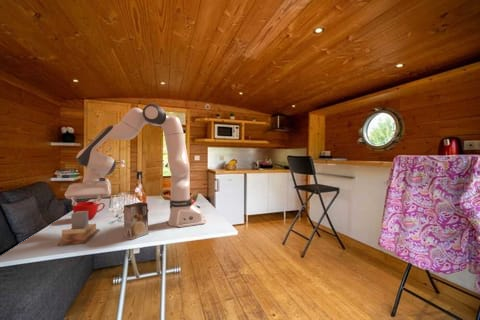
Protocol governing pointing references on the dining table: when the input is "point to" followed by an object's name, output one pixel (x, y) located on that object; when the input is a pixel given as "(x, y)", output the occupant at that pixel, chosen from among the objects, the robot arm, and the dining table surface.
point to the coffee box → (135, 220)
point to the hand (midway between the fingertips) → (84, 204)
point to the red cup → (88, 208)
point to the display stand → (78, 235)
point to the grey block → (79, 219)
